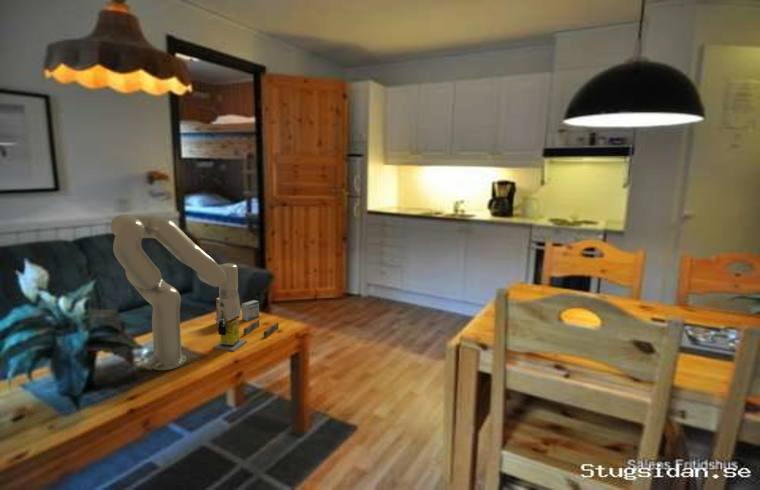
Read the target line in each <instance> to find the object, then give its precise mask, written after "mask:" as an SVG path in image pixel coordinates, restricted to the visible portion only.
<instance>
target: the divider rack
mask: <svg viewBox="0 0 760 490" xmlns="http://www.w3.org/2000/svg"><path fill="white" fill-rule="evenodd" d="M258 327H260V319H259V320H258V319H257V320H255V321H254V322H252V323H250V324H248V325H247V326H246V327H244V328H243V335H245V336H247V335H248V334H251V332H253V331H254V330H255V329H257V328H258ZM277 330H279V322H275V323H273V324H272V325H271V326H269V327H268V328H266V329H265V330H264V331H263V338H264V339H267V338H268V337H270V336H271V335H272V334H273V333H274V332H276V331H277Z"/></svg>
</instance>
